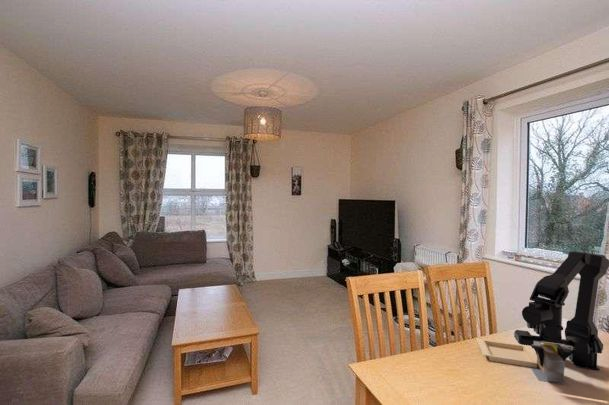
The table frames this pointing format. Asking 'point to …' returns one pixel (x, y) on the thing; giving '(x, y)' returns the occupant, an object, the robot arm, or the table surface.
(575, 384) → the table surface
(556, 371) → the box
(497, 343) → the tray
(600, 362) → the table surface
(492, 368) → the table surface
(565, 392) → the table surface
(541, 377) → the coaster
